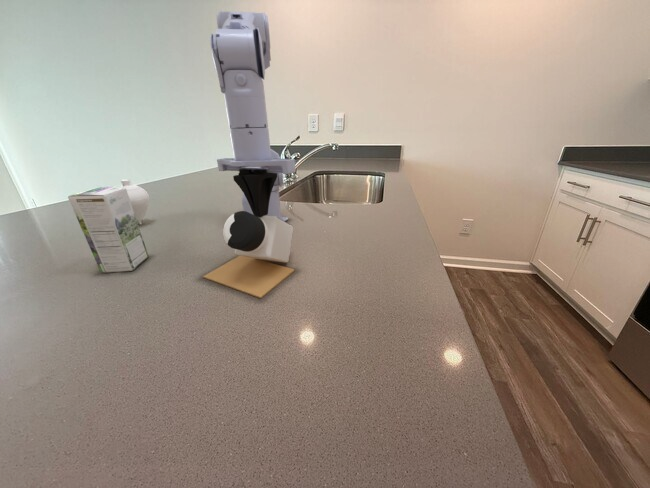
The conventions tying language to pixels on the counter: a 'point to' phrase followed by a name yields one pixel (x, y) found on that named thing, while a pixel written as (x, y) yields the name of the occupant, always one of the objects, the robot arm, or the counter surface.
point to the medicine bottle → (258, 236)
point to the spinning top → (137, 199)
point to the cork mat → (250, 275)
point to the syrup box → (110, 228)
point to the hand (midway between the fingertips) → (260, 215)
